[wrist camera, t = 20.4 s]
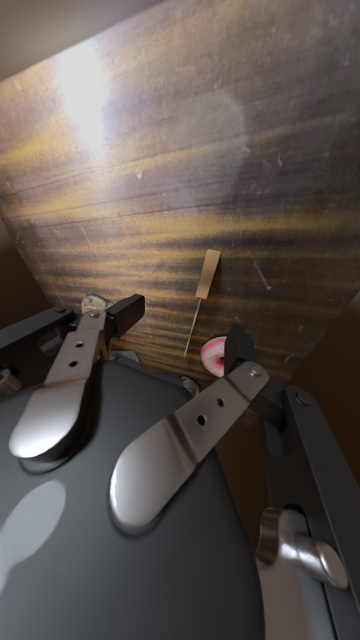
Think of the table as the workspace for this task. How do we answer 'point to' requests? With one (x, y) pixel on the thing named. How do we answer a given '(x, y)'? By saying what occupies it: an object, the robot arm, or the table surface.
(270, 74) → the table surface
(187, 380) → the seashell
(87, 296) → the decorative bowl
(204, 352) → the donut
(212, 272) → the knife
